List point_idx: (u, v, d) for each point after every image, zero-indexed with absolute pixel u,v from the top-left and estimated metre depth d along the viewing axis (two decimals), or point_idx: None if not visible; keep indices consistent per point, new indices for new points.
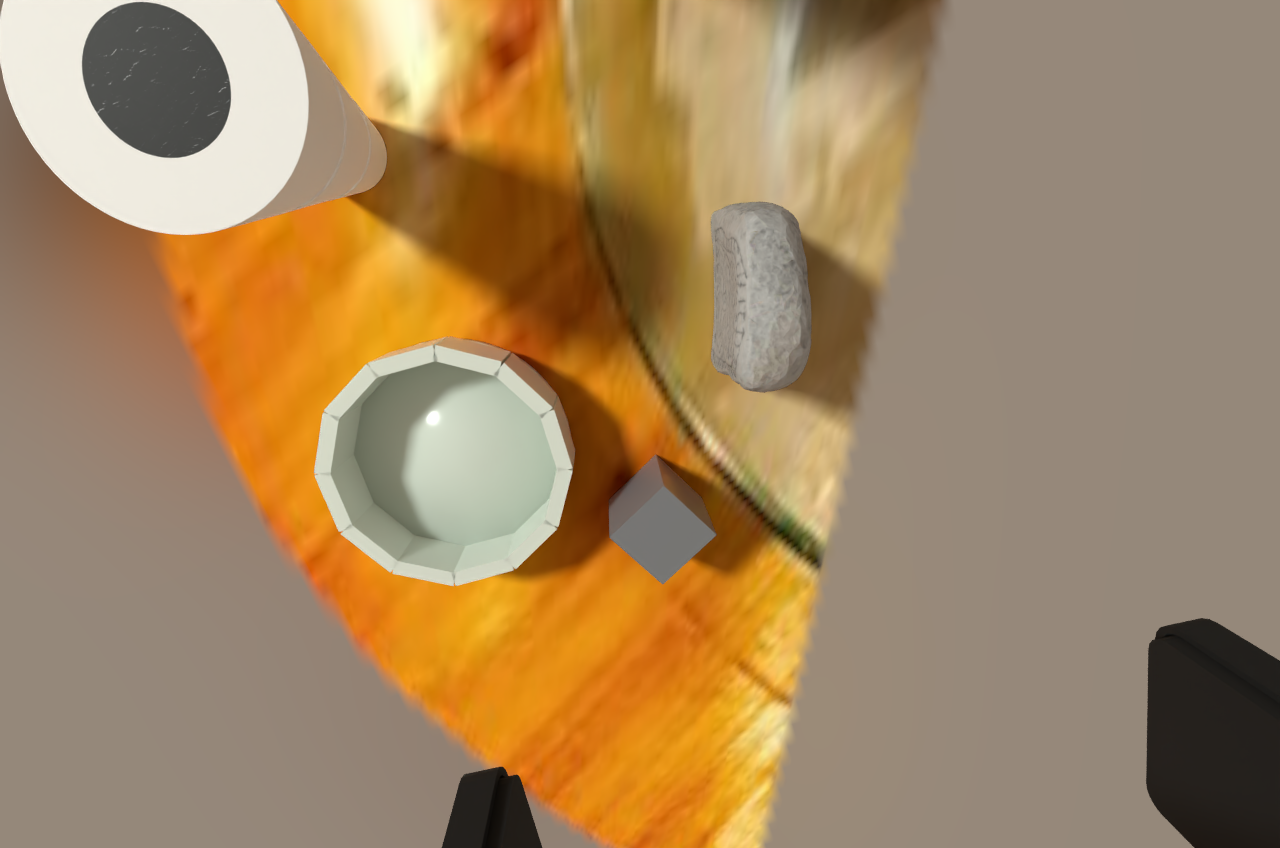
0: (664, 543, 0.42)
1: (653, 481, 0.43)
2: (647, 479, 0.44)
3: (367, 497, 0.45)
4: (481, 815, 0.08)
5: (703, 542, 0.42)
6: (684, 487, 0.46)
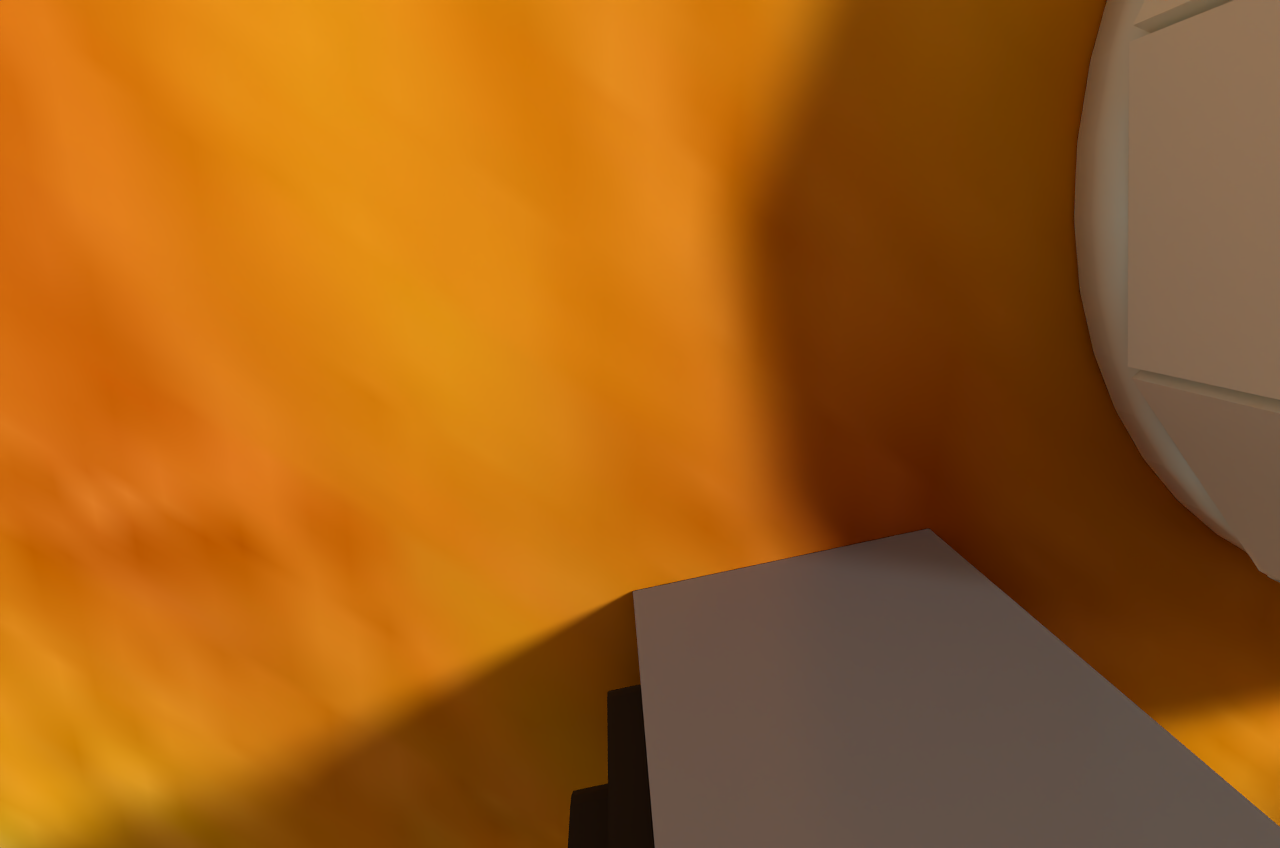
0: None
1: None
2: None
3: None
4: (635, 720, 0.09)
5: None
6: None
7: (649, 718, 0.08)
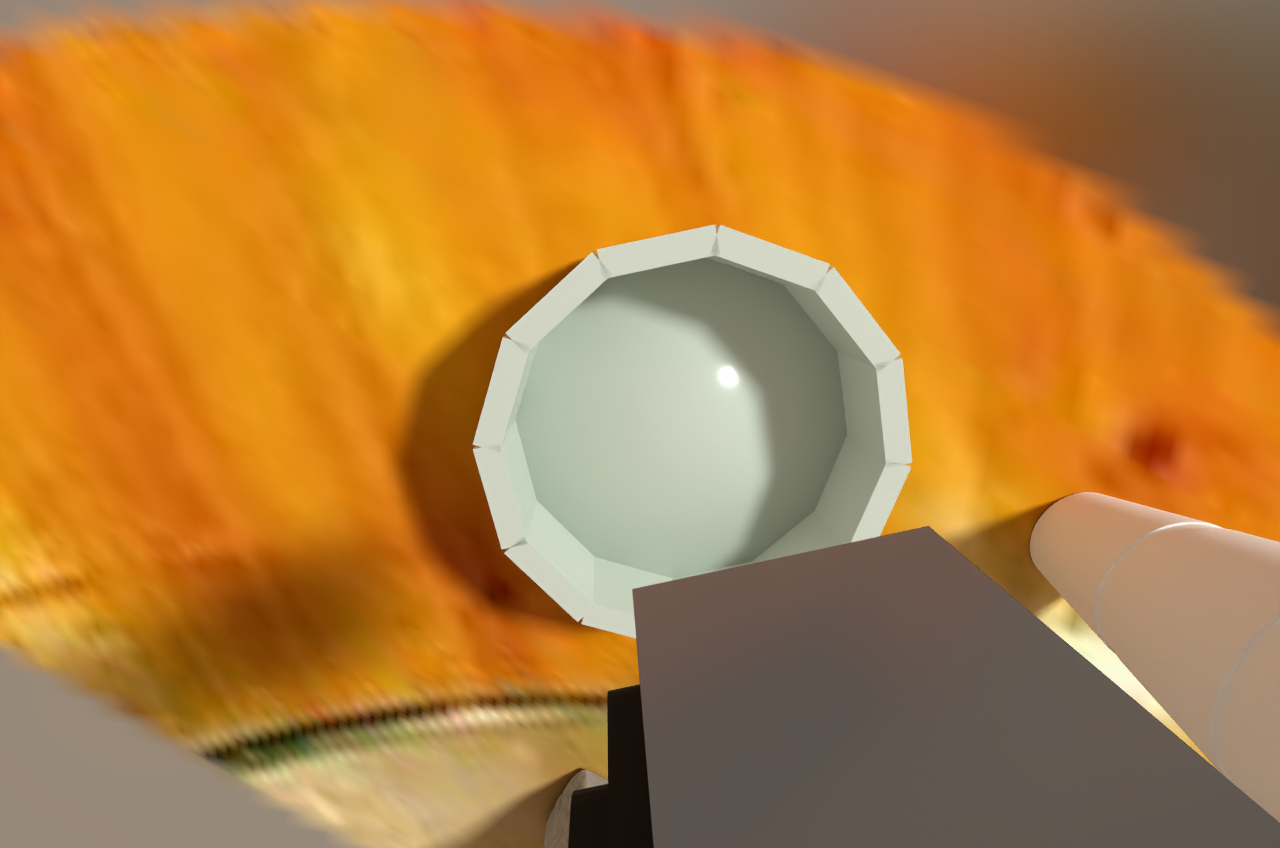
0: None
1: None
2: None
3: (715, 260, 0.25)
4: (635, 720, 0.09)
5: None
6: None
7: (648, 715, 0.08)
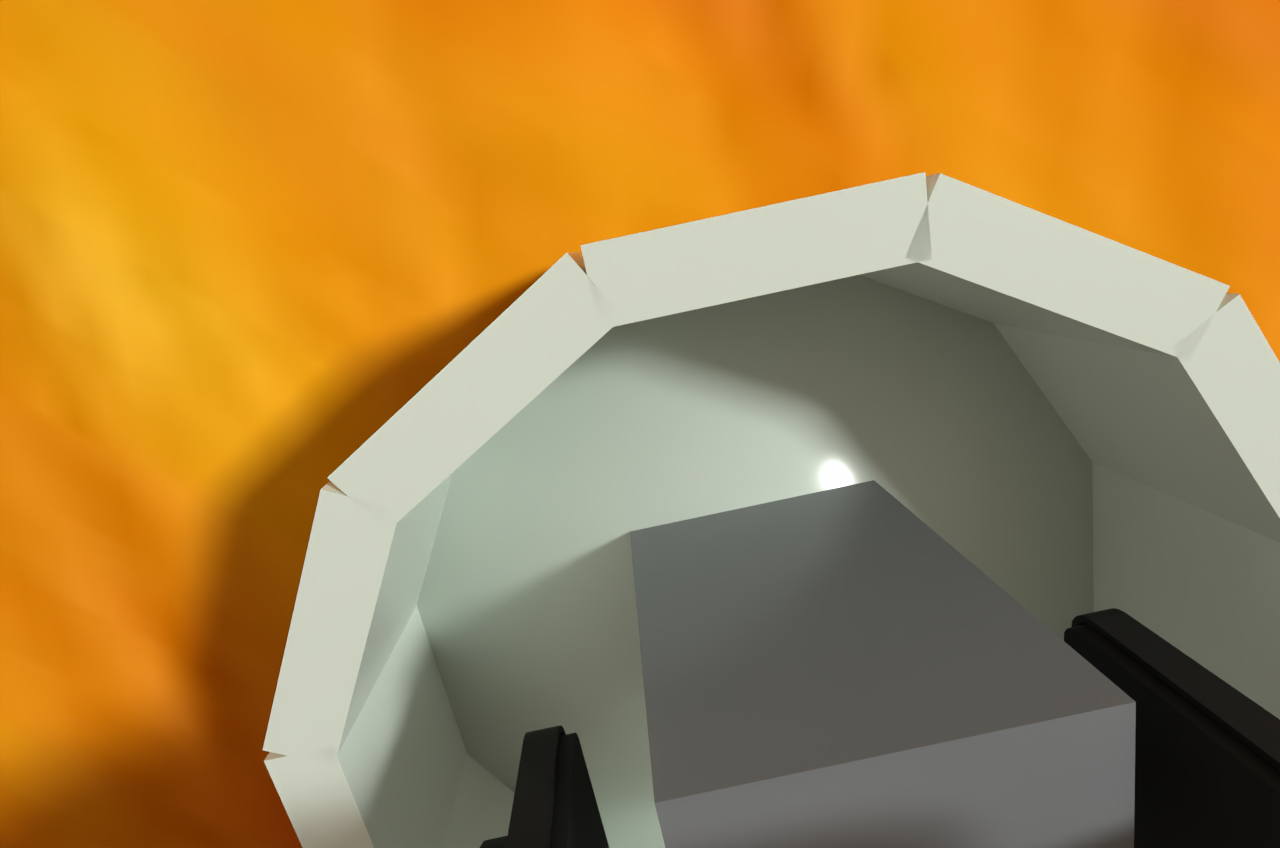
0: None
1: None
2: None
3: None
4: (548, 766, 0.08)
5: None
6: None
7: (641, 612, 0.10)
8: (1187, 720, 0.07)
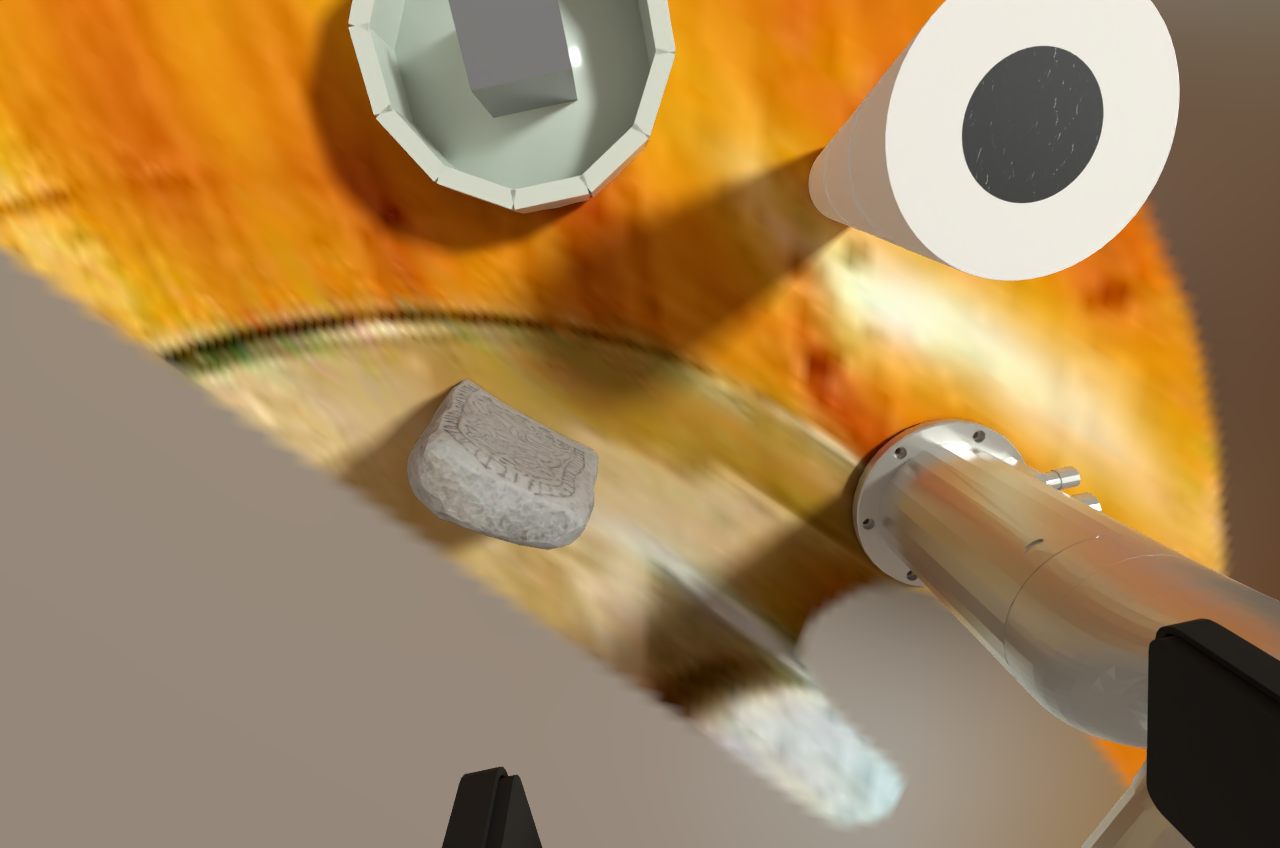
0: (497, 16, 0.30)
1: None
2: None
3: None
4: (481, 815, 0.08)
5: (470, 67, 0.30)
6: (528, 102, 0.35)
7: None
8: None
